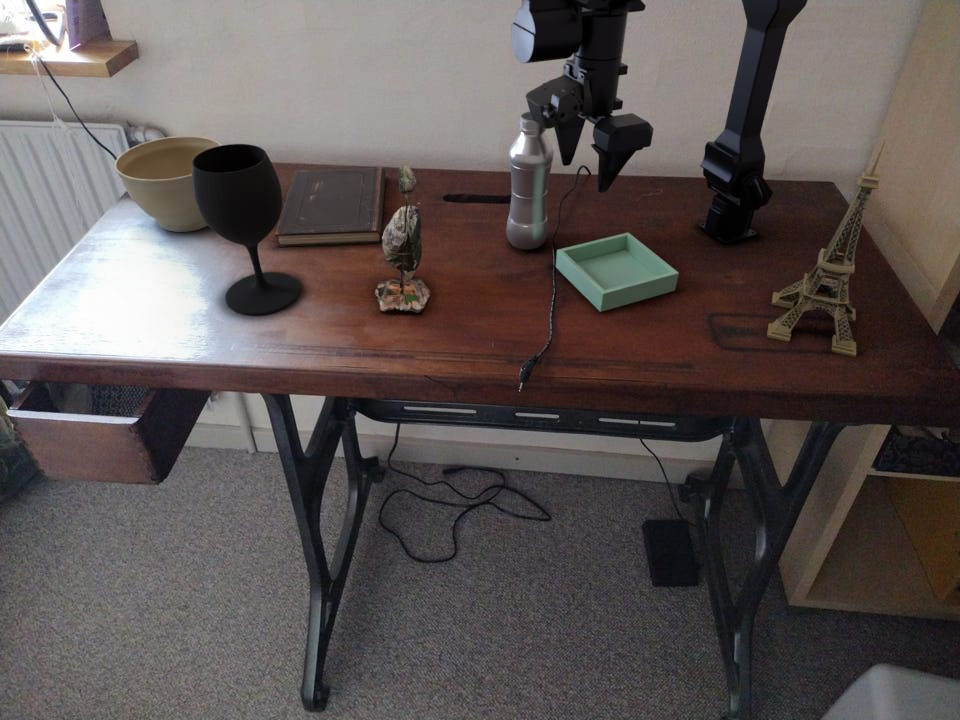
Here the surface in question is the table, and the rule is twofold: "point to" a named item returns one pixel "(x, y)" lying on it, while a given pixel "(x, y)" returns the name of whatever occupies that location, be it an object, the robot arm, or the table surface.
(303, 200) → the hardcover book
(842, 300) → the eiffel tower
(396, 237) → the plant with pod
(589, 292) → the bin
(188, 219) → the planter bowl
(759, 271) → the table surface
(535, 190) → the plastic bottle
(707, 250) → the table surface
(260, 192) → the wine glass
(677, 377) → the table surface
